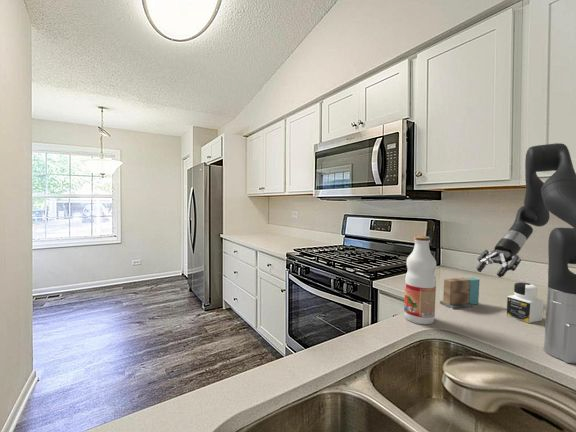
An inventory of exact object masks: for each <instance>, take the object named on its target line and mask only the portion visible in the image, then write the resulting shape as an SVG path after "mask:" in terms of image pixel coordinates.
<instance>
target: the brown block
mask: <svg viewBox="0 0 576 432" xmlns="http://www.w3.org/2000/svg"><path fill="white" fill-rule="evenodd" d="M466 278H467V277H458V278H445V279H443V293H442V294H443V295H442V296H443V297H442V298H443V299H442V300H440V301H439V304H440V305H443V306H445V307H446V308H450V309H451V308H452V310H455V309H456V310H457V309H465V308H472V307H473V304H471V303H469V293H470V280H469V279H466Z"/></svg>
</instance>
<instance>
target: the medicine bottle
mask: <svg viewBox="0 0 576 432" xmlns="http://www.w3.org/2000/svg"><path fill="white" fill-rule="evenodd" d="M513 287H514V289H513V293H514V294H512V295H508V296H507V298H506V299H507V300H506V316H507V317H510V318H512V319H515V320H518V321H521V322H525V323H527V324H531V323H537V322H541V321H542V320H543V307H544V300H543V299H539V298H537V296H538V294H537V293H538V287H537V286H536V285H534V284H531V283H527V282H516V283H515V284H514V286H513Z"/></svg>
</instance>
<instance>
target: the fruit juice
mask: <svg viewBox="0 0 576 432" xmlns="http://www.w3.org/2000/svg"><path fill="white" fill-rule="evenodd" d="M413 241H414V246H413V250H412V252H411V253H410V254H409V255H408V256H407V257H406V263H405V264H406V268H407V270H406V271H407V272H406V274H405V280H404V302H403V303H404V306H403V316H404V318H405V319H406V321H409V322H411V323H414V324H417V325H431V324H433V323H434V322H435V319H436V317H435V315H436V291H437V277H436V275H435V272H436V269H437V260H436V259H435V257H434V256H433V255H432V253H431V250H430V242H431V237H430V236H425V235H415V236H414V237H413Z"/></svg>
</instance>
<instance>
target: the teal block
mask: <svg viewBox="0 0 576 432" xmlns="http://www.w3.org/2000/svg"><path fill="white" fill-rule="evenodd" d="M465 278H466V279H469V280H470V293H469V303H471V304H472V305H477V304H478V305H479V298H480V296H479V295H480V280H481V279H479V278H475V277H465Z"/></svg>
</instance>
